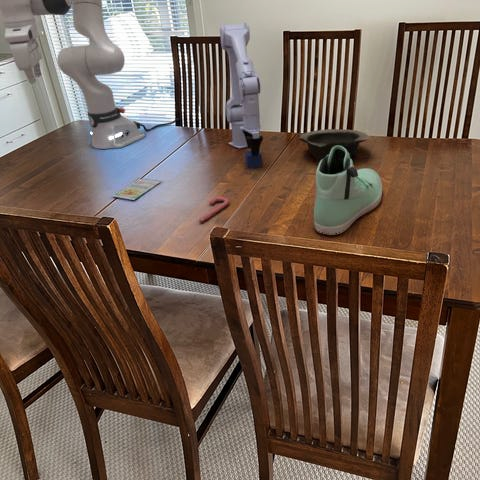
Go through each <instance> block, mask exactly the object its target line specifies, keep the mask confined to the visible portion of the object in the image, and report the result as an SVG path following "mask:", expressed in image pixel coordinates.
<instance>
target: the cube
mask: <svg viewBox="0 0 480 480" xmlns="http://www.w3.org/2000/svg"><path fill="white" fill-rule="evenodd" d="M244 160H245V165H246V167H247V169H254V168H261V167H263V157H262V152H261V150H259V155H258V156H252V153H251V150H245V151H244Z"/></svg>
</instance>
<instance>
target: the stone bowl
mask: <svg viewBox="0 0 480 480" xmlns="http://www.w3.org/2000/svg"><path fill="white" fill-rule="evenodd" d="M370 138H371V136H370V135H368V134H367V133H365V132H364V131H363V132H362V131H359V130H355V129H344V128H342V129H339V128H338V129H336V128H328V129H320V130H319V129H318V130H312V131H308V132H304V133H302V134H300V136H299V138H298V140H299V141H301V142H303V143H306V144H307V147H308V151H309V152H310V154H311V155H312V156H313V157H315V158H316V162H317V163H320V161H321V160H322V159H324V158H325V157H326V156H327V155H329V154H330V152H331V149H332V148H333V147H334V146H342V147H344V148H345V149H346V150H347V152H348V153H349V156H350V158H356V157H357V155H358V151H359V144H361V143H364V142H366V141H368V140H370Z"/></svg>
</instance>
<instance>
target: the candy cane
mask: <svg viewBox="0 0 480 480" xmlns="http://www.w3.org/2000/svg"><path fill="white" fill-rule="evenodd" d="M217 202H222V203H221V204H219V205H217V206H216V207H215V208H213V209H211V210H210V211H209V212H207V213H206V214H204V215H203V216H202V217H200V218H199V219H198V221H199V223H204V222H205V221H207V220H208V219H210V218H211V217H213V216H214V215H216V214H217V213H218V212H220V211H222V210H223V209H225V208H226V207H227V206H229V204H230V199H228V198H227V197H224V196H216V197H213V198H211V199H210V201H209V204H210V205H214V204H215V203H217Z"/></svg>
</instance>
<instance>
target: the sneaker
mask: <svg viewBox="0 0 480 480" xmlns="http://www.w3.org/2000/svg"><path fill="white" fill-rule="evenodd" d="M317 165H318V166H317V168H316V172H315V201H314V207H313V225H314V229H315V231H316V232H318V233H320V234H323V235H326V236H327V235H328V236H336V235H339V234H342V233H344V232H345V231H347V230H348V229H349V228H350V227H351V226H352V225H353V224H354V222H356V221H357V220H358V219H359V218H360V217H362V216H363V215H365V214H367V213H370V212H372V210H374V209H375V208H377V207H378V205H380V203H381V200H382V196H383V184H382V183H383V182H382V179H381V176H380V175H379V173H378V172H377V171H376V170H374V169H372V168H367V167H365V168H358V169H357V168H355V167H354V161H353V159H352V158H351V157H350V156H349V153H348V152H347V150H346V149H345V148H344V147H342V146H334V147H333V148H332V149H331V152H330V154H329V155H327V156H326V157H325V158H324V159H322V160H321V161H320V162H318V164H317ZM343 230H344V231H343ZM319 231H320V232H319ZM322 232H323V233H322ZM339 232H340V233H339ZM326 233H327V234H326ZM328 233H329V234H328ZM335 233H337V234H335Z"/></svg>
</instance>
